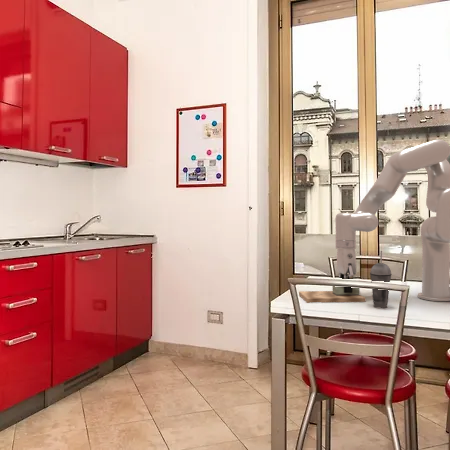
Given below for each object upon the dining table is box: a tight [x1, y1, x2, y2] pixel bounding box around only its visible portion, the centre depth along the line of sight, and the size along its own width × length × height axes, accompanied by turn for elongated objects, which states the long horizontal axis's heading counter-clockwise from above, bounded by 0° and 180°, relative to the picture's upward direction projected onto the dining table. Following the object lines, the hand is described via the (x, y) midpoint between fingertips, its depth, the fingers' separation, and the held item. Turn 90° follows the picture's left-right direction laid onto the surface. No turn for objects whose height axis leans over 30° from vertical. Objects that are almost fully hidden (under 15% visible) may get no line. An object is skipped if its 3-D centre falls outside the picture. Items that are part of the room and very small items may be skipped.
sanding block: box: [332, 277, 361, 296], centre depth 164 cm, size 9×5×6 cm, turn 92°
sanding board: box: [298, 290, 366, 304], centre depth 164 cm, size 22×14×2 cm, turn 92°
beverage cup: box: [369, 250, 392, 309], centre depth 149 cm, size 7×7×20 cm
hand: (345, 290), depth 164 cm, fingers closed on sanding block, 5 cm apart
